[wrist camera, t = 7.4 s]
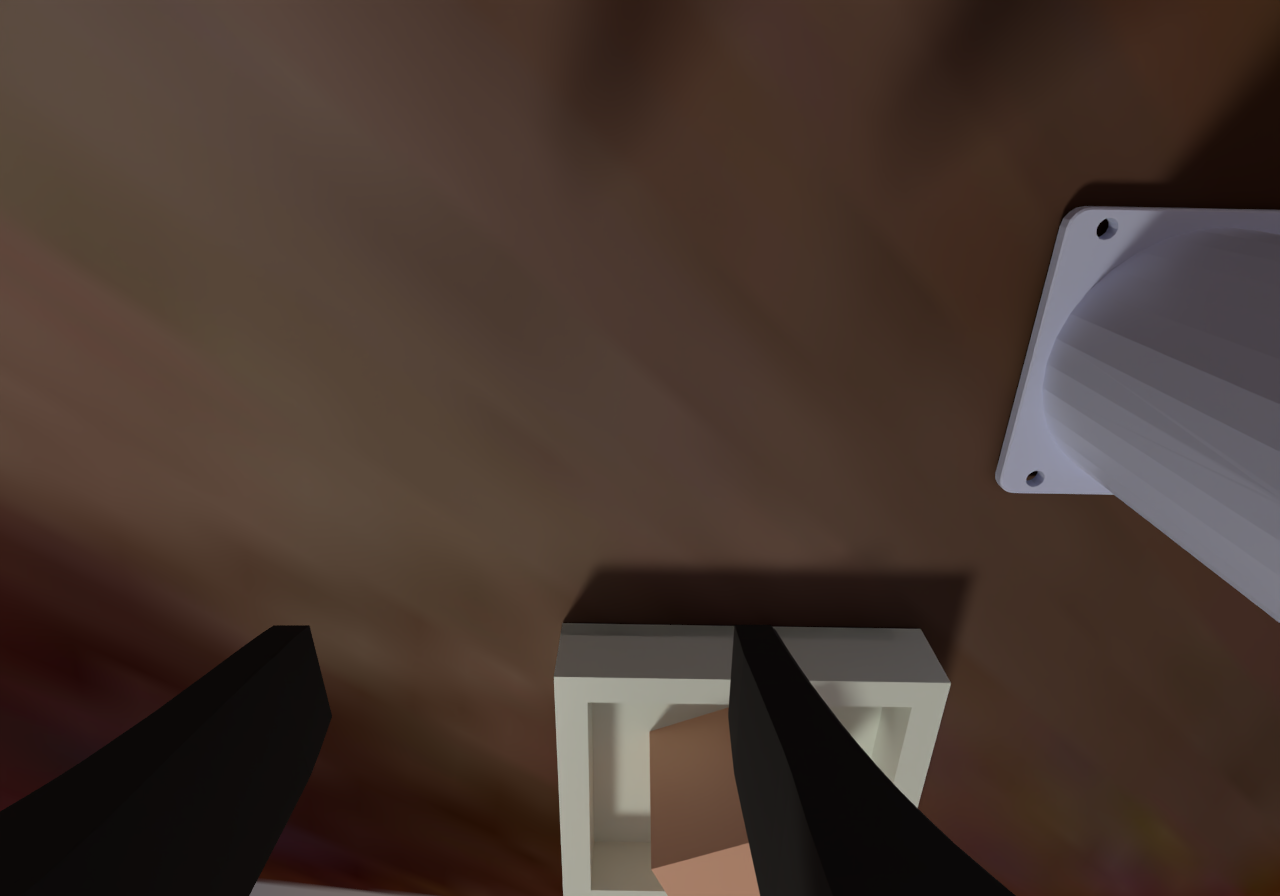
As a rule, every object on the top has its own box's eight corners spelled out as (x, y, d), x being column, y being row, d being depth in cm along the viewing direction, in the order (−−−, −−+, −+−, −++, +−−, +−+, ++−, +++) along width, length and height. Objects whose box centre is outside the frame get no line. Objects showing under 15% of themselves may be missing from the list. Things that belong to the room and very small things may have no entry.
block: (771, 694, 24) (802, 828, 19) (809, 780, 25) (846, 922, 21) (649, 731, 24) (651, 869, 20) (694, 812, 26) (706, 957, 22)
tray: (920, 628, 23) (951, 683, 21) (869, 847, 28) (889, 911, 26) (562, 623, 23) (554, 676, 21) (570, 843, 28) (564, 907, 26)
